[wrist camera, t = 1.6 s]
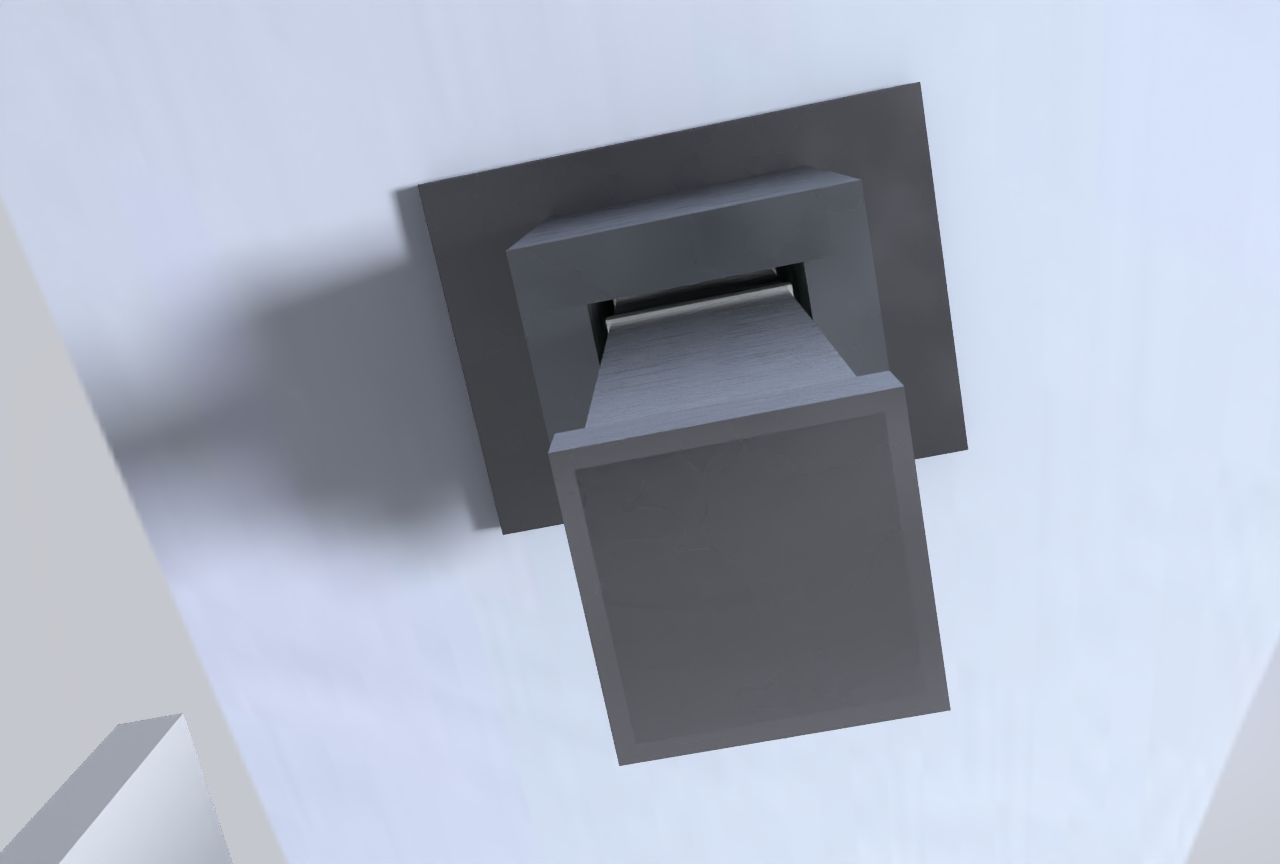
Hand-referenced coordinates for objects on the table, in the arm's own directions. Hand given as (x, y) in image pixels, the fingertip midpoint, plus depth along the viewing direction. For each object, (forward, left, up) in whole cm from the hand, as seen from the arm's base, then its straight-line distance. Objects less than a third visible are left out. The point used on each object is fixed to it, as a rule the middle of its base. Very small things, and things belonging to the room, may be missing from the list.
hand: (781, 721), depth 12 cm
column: (0, 0, -25) cm, 25 cm away
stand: (0, 0, -27) cm, 27 cm away
